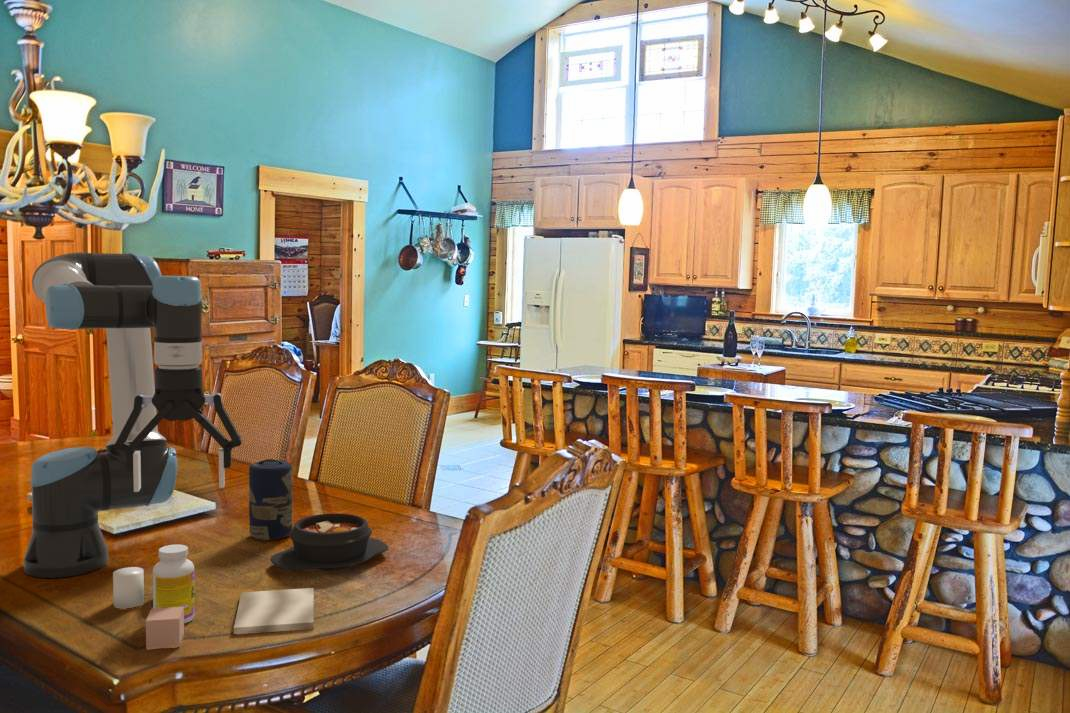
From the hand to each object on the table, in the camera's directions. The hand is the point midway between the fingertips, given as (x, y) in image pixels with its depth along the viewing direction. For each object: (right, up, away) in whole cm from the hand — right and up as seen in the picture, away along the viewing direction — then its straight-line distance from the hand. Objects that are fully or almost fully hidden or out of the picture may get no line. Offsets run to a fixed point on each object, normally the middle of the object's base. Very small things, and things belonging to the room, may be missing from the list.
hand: (180, 488), depth 149 cm
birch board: (+15, -23, +5) cm, 28 cm away
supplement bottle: (-1, -23, +1) cm, 23 cm away
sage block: (-5, -22, +11) cm, 25 cm away
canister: (+1, -19, +48) cm, 51 cm away
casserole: (+18, -21, +32) cm, 43 cm away
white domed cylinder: (-12, -22, +7) cm, 26 cm away
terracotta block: (+1, -24, -8) cm, 25 cm away
